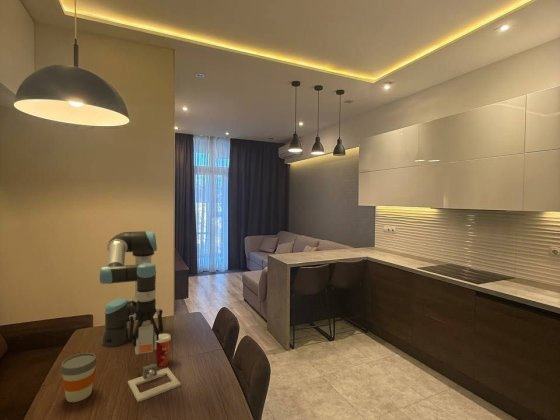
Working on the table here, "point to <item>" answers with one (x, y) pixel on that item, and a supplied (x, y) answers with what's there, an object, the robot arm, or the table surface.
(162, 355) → the paper cup
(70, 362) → the reusable coffee cup
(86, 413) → the table surface
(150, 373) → the silver metal knob
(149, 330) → the skincare box
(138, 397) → the socket board
